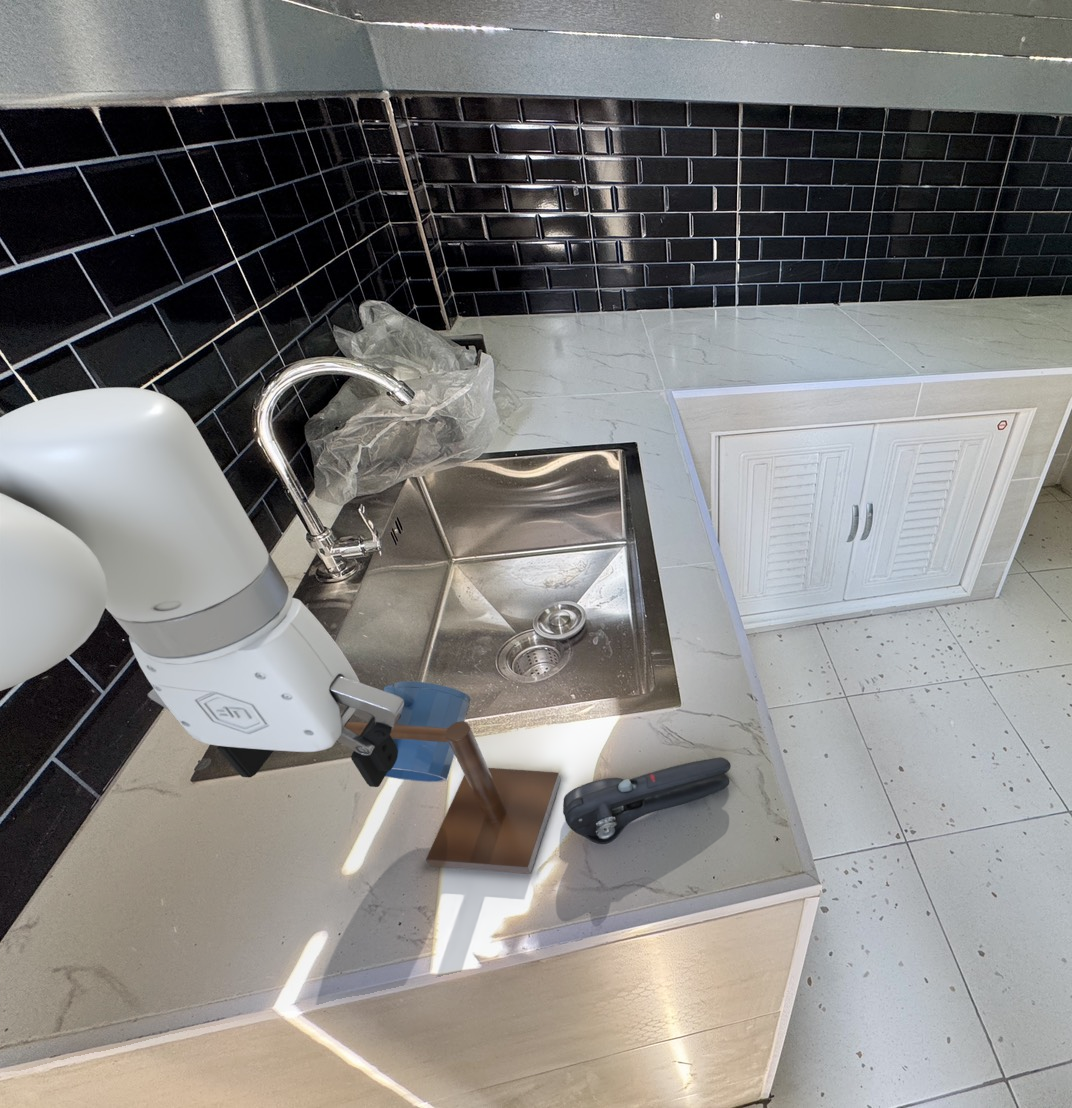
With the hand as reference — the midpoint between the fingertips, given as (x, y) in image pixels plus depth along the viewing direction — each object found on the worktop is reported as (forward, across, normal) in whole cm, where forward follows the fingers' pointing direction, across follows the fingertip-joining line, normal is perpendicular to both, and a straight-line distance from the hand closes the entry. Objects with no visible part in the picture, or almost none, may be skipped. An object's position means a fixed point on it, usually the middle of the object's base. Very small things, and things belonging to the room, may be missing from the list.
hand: (323, 765), depth 46 cm
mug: (+6, 0, +12) cm, 14 cm away
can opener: (+19, +23, +9) cm, 31 cm away
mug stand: (+19, +4, +6) cm, 20 cm away
